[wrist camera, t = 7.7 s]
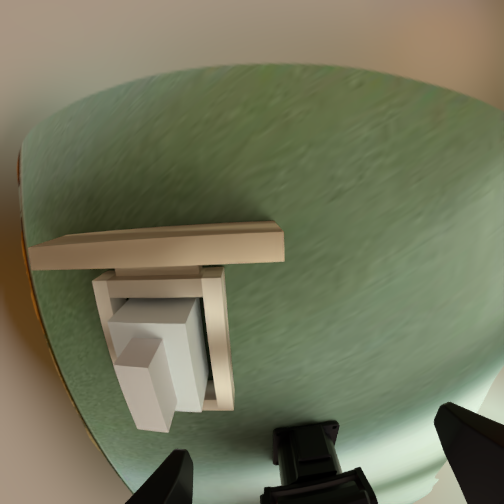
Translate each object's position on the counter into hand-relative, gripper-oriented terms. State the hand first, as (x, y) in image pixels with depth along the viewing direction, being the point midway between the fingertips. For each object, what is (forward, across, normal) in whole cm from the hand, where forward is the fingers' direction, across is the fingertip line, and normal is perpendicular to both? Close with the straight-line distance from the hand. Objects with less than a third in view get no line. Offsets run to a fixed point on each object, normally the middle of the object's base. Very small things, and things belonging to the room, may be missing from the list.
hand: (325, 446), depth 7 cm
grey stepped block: (+13, +8, +2) cm, 16 cm away
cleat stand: (+13, +8, +1) cm, 16 cm away
